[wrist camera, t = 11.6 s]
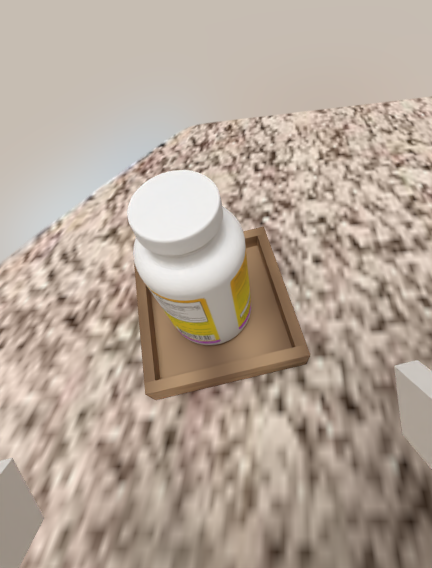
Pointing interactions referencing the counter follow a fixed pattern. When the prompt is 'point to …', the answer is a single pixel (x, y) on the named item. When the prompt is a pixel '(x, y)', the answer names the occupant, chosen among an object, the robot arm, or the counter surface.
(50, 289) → the counter surface
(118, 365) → the counter surface
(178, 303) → the supplement bottle
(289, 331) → the walnut tray
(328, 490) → the counter surface
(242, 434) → the counter surface
